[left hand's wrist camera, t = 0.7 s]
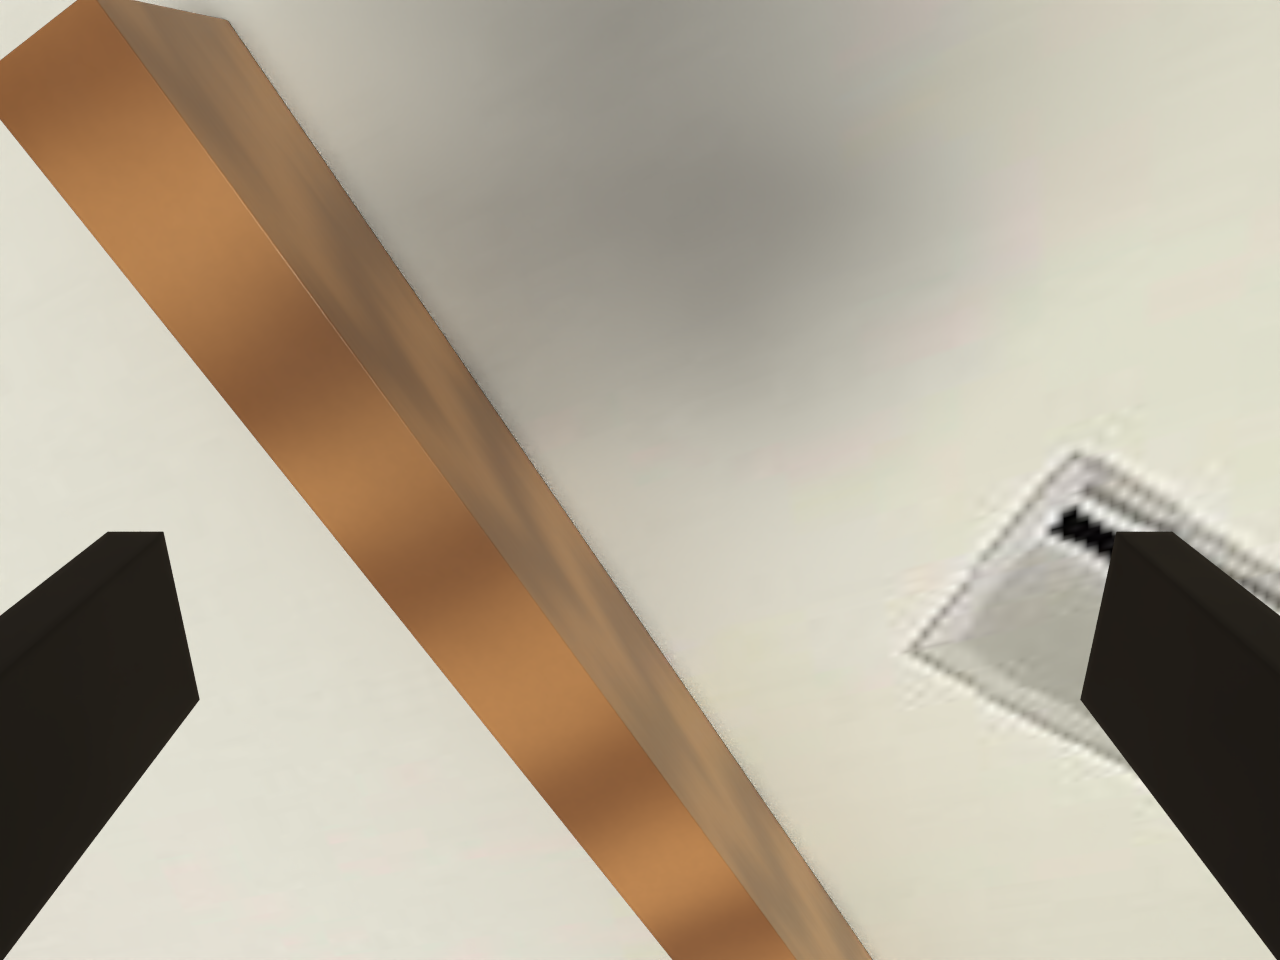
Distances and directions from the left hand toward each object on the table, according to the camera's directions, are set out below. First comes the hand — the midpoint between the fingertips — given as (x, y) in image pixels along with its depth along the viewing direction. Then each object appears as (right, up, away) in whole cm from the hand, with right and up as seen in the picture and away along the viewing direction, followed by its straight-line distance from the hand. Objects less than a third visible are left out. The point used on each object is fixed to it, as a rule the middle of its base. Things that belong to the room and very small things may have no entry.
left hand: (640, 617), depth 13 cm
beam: (-1, -7, +30) cm, 30 cm away
